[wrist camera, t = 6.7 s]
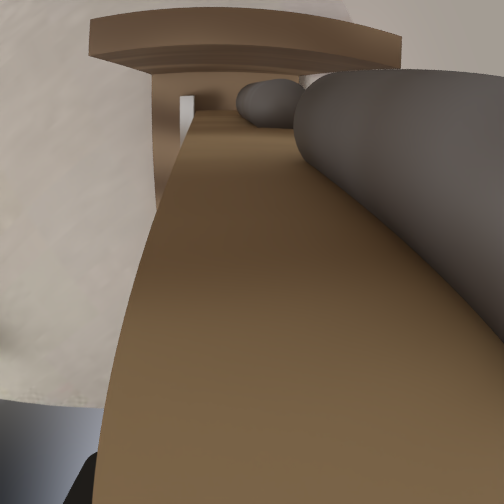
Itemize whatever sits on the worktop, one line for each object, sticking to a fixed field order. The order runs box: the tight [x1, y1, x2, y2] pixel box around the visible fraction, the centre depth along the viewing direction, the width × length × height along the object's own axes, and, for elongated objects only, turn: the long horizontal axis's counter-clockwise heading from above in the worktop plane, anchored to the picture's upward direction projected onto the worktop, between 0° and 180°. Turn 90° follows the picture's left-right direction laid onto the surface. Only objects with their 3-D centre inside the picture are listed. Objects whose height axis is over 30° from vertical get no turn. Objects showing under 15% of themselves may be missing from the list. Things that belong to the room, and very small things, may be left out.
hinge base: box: [89, 7, 402, 209], centre depth 21 cm, size 24×12×16 cm, turn 178°
